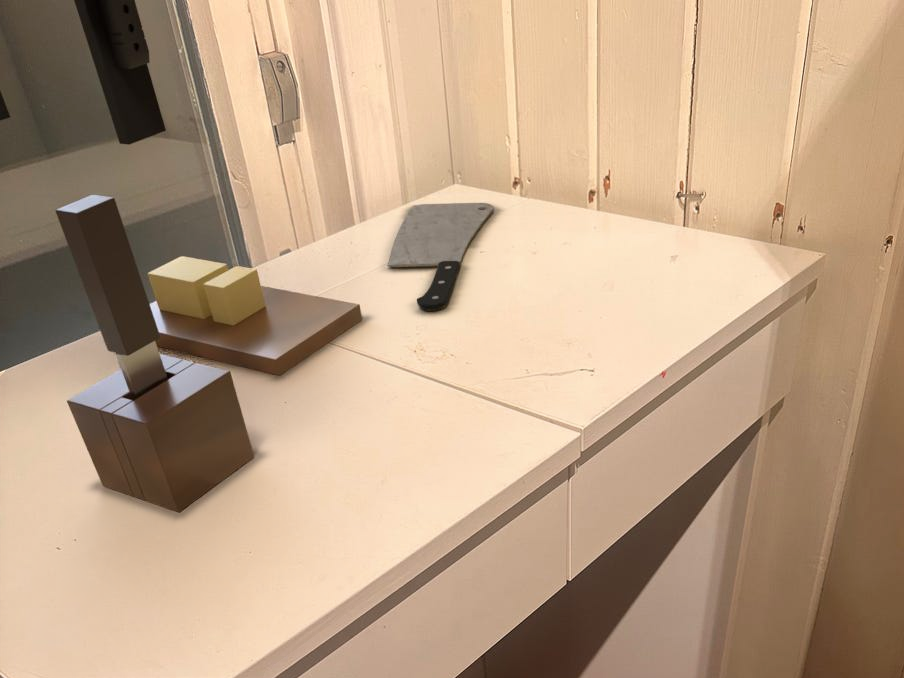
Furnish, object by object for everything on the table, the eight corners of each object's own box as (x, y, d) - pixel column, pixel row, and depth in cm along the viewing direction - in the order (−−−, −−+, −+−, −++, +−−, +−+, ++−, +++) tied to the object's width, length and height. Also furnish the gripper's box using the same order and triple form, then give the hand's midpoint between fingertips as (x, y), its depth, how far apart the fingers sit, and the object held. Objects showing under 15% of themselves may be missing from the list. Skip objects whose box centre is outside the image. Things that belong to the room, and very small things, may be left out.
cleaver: (348, 312, 87) (451, 310, 85) (347, 306, 86) (450, 305, 85) (413, 207, 108) (496, 204, 106) (412, 203, 107) (496, 200, 106)
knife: (155, 478, 68) (54, 210, 55) (184, 458, 69) (92, 194, 57) (174, 484, 67) (76, 213, 54) (203, 464, 69) (114, 197, 56)
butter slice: (213, 321, 84) (202, 283, 82) (246, 302, 87) (236, 265, 85) (233, 325, 83) (223, 287, 81) (265, 306, 86) (256, 269, 83)
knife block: (102, 486, 67) (65, 400, 63) (179, 434, 72) (151, 351, 67) (179, 512, 64) (146, 424, 59) (254, 456, 69) (230, 370, 64)
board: (120, 337, 87) (115, 322, 86) (208, 289, 94) (204, 274, 93) (279, 375, 78) (275, 359, 77) (362, 319, 86) (359, 304, 85)
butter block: (159, 309, 87) (147, 273, 85) (192, 291, 90) (181, 255, 88) (204, 319, 85) (193, 282, 82) (237, 300, 87) (227, 263, 85)
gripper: (133, -492, 35) (266, 124, 49) (-209, -376, 46) (-18, 102, 60) (-34, -521, 31) (166, 165, 45) (-370, -385, 41) (-121, 134, 56)
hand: (61, 130), depth 53 cm, fingers open, 13 cm apart
